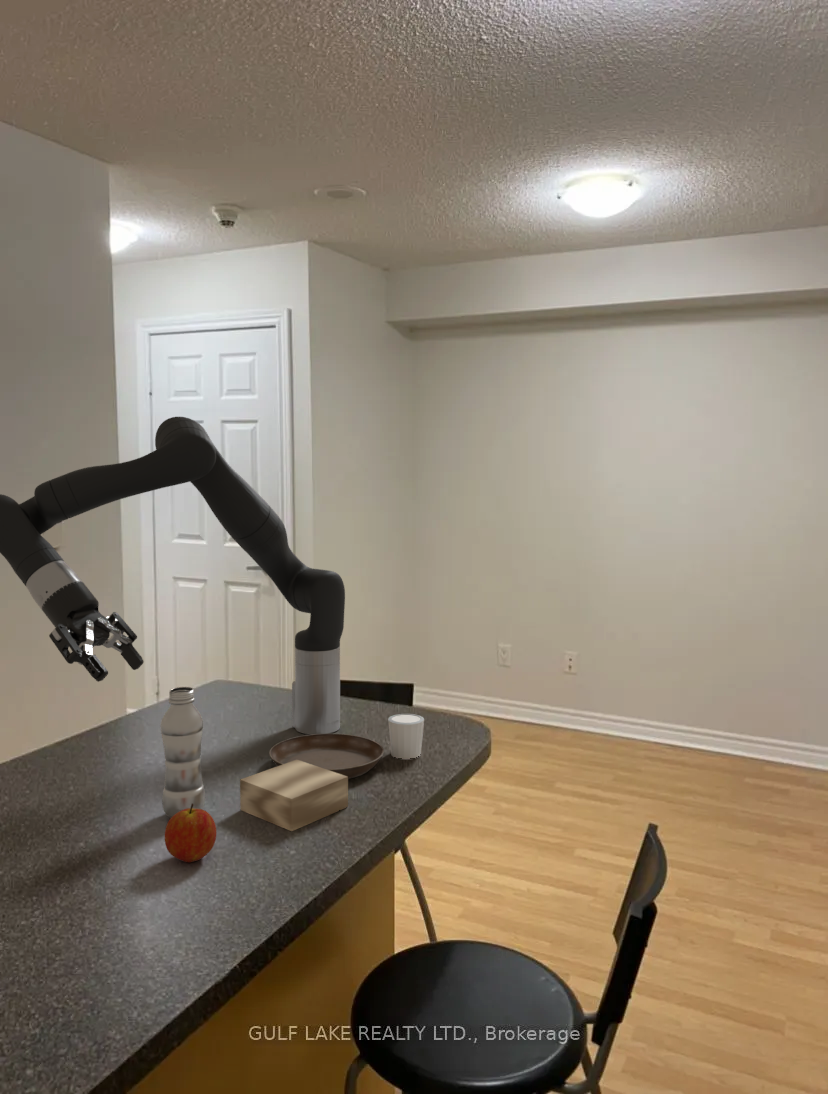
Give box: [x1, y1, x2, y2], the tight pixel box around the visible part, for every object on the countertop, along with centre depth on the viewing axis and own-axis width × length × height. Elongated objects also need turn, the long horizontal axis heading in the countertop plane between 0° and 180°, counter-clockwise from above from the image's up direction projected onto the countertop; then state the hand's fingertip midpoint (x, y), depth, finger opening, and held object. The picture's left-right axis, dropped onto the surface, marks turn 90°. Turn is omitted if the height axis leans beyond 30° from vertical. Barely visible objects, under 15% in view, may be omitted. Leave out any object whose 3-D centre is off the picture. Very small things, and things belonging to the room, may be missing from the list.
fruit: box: [164, 803, 218, 864], centre depth 117 cm, size 7×7×8 cm
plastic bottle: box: [159, 686, 206, 819], centre depth 130 cm, size 6×7×20 cm
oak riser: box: [239, 760, 349, 832], centre depth 134 cm, size 12×12×5 cm
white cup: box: [387, 713, 425, 760], centre depth 160 cm, size 7×7×7 cm
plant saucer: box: [268, 733, 385, 780], centre depth 154 cm, size 21×21×3 cm
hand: (122, 672), depth 133 cm, fingers open, 8 cm apart
